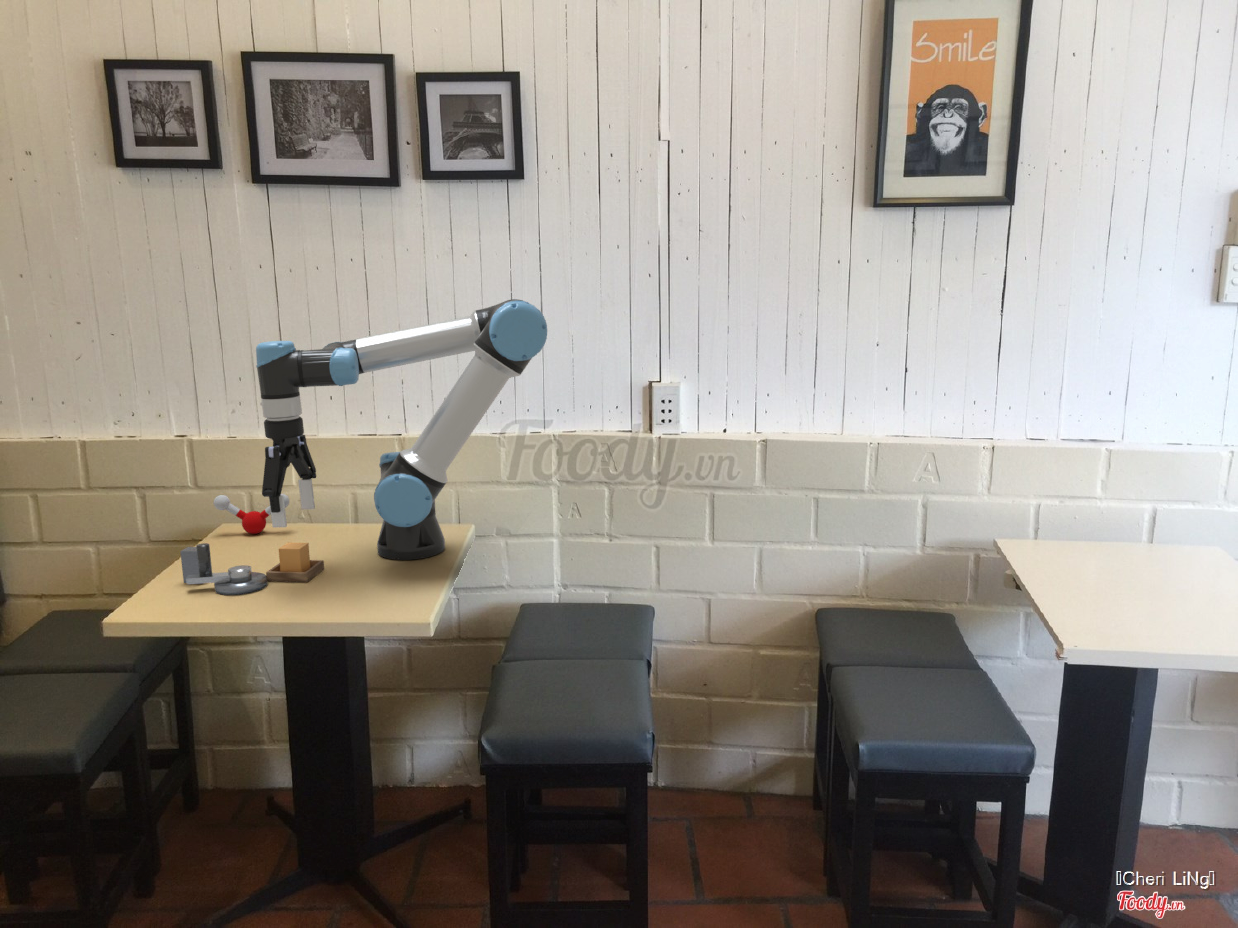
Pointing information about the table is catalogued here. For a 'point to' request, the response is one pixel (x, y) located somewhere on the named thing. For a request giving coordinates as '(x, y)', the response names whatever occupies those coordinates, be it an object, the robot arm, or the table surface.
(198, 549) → the crank
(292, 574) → the tray
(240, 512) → the molecular model
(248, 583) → the crank base
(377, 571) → the table surface
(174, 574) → the table surface
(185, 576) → the gray block
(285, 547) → the orange wooden block
